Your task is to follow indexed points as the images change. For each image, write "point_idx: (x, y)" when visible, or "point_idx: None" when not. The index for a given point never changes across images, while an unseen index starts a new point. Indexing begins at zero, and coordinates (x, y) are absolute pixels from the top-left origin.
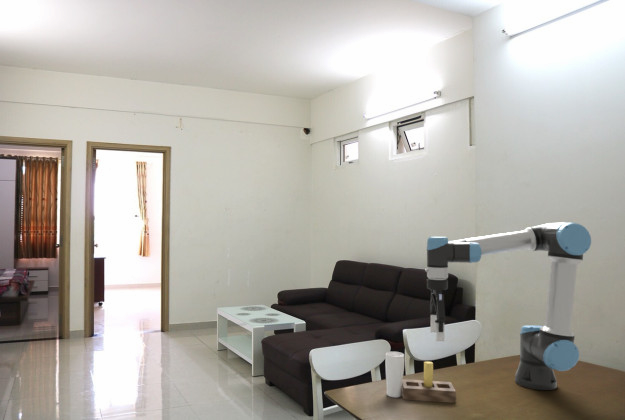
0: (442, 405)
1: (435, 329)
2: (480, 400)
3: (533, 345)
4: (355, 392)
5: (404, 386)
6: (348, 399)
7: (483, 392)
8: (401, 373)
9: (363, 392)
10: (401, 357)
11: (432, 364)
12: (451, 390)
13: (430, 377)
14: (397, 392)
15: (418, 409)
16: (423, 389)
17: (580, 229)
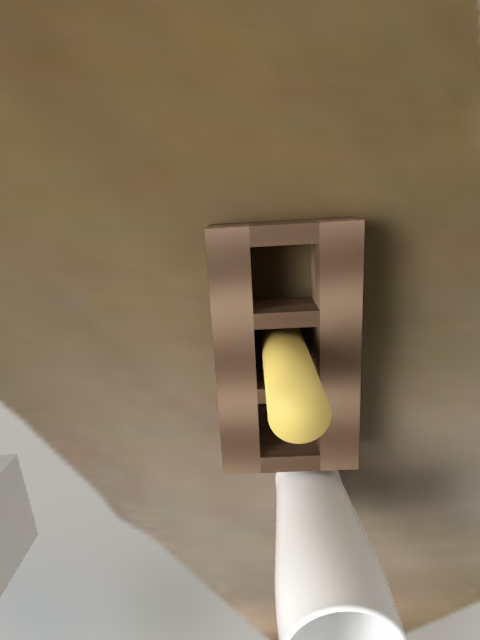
0: (392, 283)
1: (1, 511)
2: (287, 71)
3: None
4: None
5: (335, 466)
6: None
7: (148, 26)
8: (357, 527)
9: None
10: (392, 615)
11: (318, 390)
12: (354, 242)
13: (314, 366)
14: (340, 477)
15: (453, 387)
16: (360, 384)
17: None
